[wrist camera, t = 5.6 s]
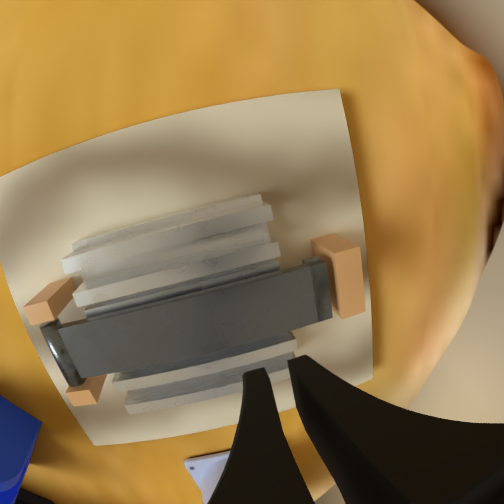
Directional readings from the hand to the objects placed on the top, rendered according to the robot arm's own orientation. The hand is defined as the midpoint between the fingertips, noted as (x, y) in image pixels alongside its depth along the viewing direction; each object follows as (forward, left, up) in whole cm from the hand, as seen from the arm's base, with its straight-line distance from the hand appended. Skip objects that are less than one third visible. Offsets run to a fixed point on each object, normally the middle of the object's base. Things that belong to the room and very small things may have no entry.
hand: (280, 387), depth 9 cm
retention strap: (0, +3, -7) cm, 8 cm away
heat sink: (0, +3, -9) cm, 9 cm away
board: (0, +3, -10) cm, 11 cm away
